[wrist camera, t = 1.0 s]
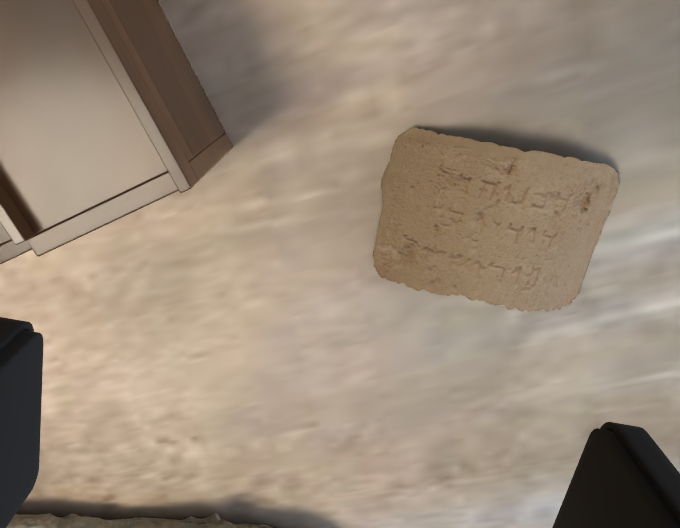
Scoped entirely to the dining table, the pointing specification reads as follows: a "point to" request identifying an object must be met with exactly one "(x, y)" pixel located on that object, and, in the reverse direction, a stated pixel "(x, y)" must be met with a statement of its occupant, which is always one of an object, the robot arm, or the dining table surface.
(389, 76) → the dining table surface
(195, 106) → the step shelf
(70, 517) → the elongated rock
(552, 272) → the clay tablet
